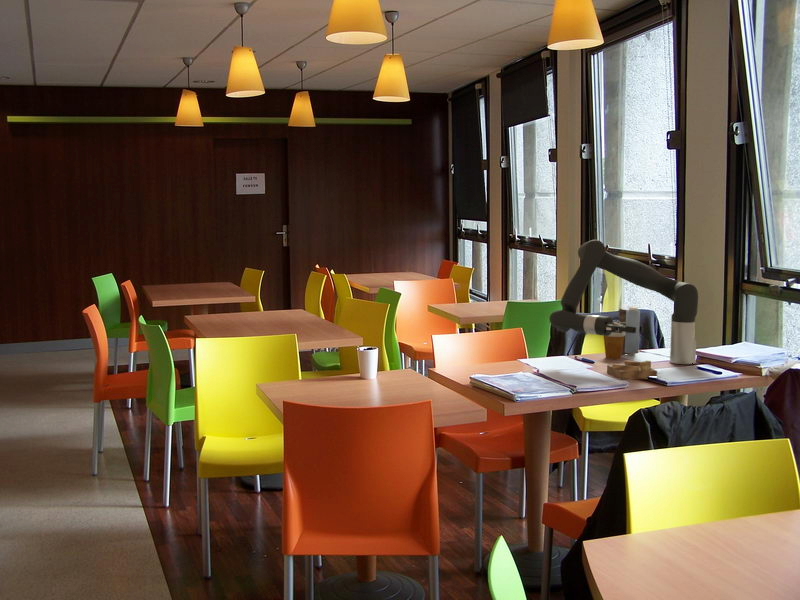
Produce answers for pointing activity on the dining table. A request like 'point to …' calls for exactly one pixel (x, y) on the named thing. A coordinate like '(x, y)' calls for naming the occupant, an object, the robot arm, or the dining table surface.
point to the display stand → (632, 370)
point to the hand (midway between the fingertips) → (639, 329)
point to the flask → (632, 338)
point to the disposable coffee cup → (614, 345)
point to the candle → (623, 319)
